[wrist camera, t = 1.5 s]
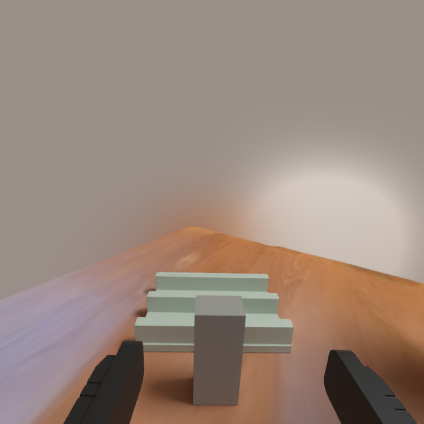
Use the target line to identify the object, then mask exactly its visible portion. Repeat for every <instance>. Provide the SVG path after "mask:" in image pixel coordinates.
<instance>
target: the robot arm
mask: <svg viewBox="0 0 424 424" xmlns="http://www.w3.org/2000/svg"><path fill="white" fill-rule="evenodd" d="M143 375H144V355H143V342H142V341H126V340H125V341H123V343H122V344H121V346H120V348H119V350H118V352H117V354H116V355H107V356H106V357H105V358H104V359H103V360H102V361H101V362H100V363H99V364H98V365H97V366H96V367H95V369H94V371H93V373H92V374H91V376H90V378H89V380H88V381H87V385H85V387H84V388H83V390H82V392H81V394H80V397H79V398H78V399H77V401H76V403H75V404H74V406H73V408H72V410H71V411H70V413H69V415H68V417H67V418H66V420H65V422H64V424H129V423H130V420H131V417H132V414H133V411H134V408H135V405H136V401H137V398H138V395H139V392H140V389H141V385H142V381H143ZM324 385H325V389H326V393H327V395H328V397H329V399H330V402H331V404H332V406H333V408H334V410H335V412H336V414H337V416H338V418H339V420H340V422H341V424H417V423H416V421H415V420H414V419H413V418H412V416H411V415H410V414H409V413H407V411H406V409H405V407H404V406H403V405H402V403H401V402H400V401H399V400H398V399H397V398H396V397H395V394H394V393H393V392H392V391H391V389H390V388H389V387H388V385H387V384H386V383H385V382H384V380H383V379H382V378H381V377H379V376H378V375H377V374H376V373H375V372H374V371H372V370H371V369H370V368H369V367H367V366H363V365H362V363H361V362H360V361H359V359H358V358H357V357H356V355H355V354H354V353H353V352H352V351H347V350H331V351H330V353H329V357H328V362H327V366H326V371H325V375H324Z"/></svg>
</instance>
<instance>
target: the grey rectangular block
mask: <svg viewBox="0 0 424 424" xmlns="http://www.w3.org/2000/svg"><path fill="white" fill-rule="evenodd" d="M245 321H246V314H245V310H244V305H243V301H242V297H241V296H218V295H196V303H195V317H194V382H193V405H238V397H239V386H240V375H241V365H242V354H243V343H244V332H245Z"/></svg>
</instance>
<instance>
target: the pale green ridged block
mask: <svg viewBox="0 0 424 424" xmlns="http://www.w3.org/2000/svg"><path fill="white" fill-rule="evenodd" d="M268 284H269V277H268V275H267V274H230V273H178V272H157V274H156V291H149V293H148V295H147V311H148V312H147V315H146V317H138V318H137V320H136V323H135V325H134V328H135V341H142V342H143V352H194V317H195V303H196V295H218V296H241V297H242V301H243V305H244V310H245V314H246V321H245V332H244V343H243V352H253V353H291V347H292V346H291V341H292V335H293V329H294V327H293V325H292V323H291V321H290V319H279V316H278V314H277V313H278V306H279V297H278V295H277V293H268Z"/></svg>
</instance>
